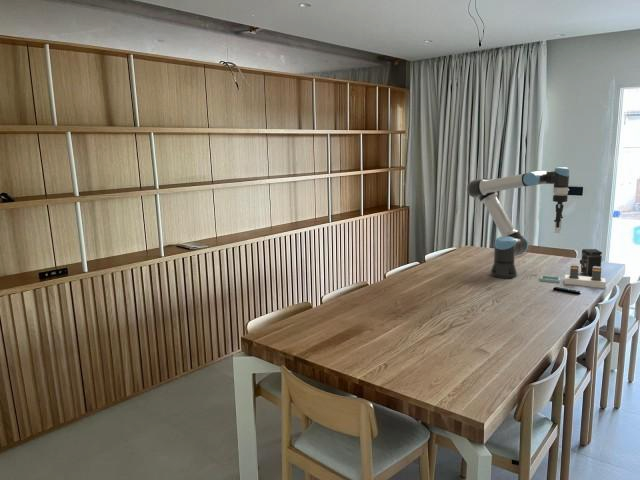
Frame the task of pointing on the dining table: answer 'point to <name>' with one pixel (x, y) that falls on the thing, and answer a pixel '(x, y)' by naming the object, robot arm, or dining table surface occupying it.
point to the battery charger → (588, 279)
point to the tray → (550, 279)
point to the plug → (574, 271)
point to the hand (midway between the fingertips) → (557, 231)
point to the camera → (590, 260)
